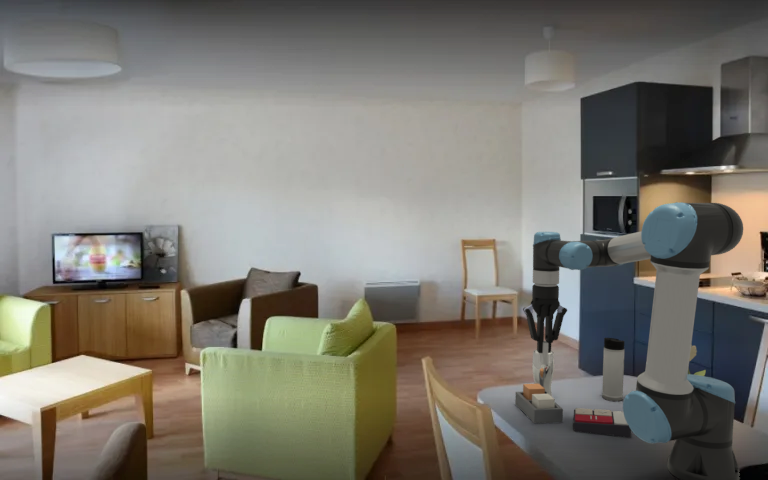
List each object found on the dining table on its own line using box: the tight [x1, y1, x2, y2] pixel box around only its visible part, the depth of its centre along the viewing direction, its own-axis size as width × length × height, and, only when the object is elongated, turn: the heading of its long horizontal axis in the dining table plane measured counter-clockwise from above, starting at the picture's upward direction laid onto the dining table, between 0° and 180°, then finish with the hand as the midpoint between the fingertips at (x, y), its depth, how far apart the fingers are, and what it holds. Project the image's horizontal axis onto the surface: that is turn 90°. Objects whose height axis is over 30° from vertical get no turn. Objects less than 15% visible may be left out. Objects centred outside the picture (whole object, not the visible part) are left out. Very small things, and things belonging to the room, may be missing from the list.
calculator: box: [572, 407, 632, 439], centre depth 172 cm, size 11×4×15 cm
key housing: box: [514, 391, 564, 424], centre depth 183 cm, size 16×9×4 cm, turn 7°
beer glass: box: [531, 349, 555, 397], centre depth 197 cm, size 7×7×15 cm
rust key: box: [522, 383, 545, 400], centre depth 187 cm, size 5×5×4 cm
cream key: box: [532, 394, 556, 409], centre depth 179 cm, size 5×5×4 cm
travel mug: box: [601, 337, 625, 402], centre depth 196 cm, size 6×7×20 cm
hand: (543, 363), depth 178 cm, fingers closed
